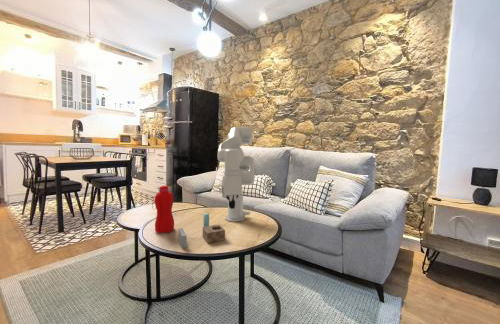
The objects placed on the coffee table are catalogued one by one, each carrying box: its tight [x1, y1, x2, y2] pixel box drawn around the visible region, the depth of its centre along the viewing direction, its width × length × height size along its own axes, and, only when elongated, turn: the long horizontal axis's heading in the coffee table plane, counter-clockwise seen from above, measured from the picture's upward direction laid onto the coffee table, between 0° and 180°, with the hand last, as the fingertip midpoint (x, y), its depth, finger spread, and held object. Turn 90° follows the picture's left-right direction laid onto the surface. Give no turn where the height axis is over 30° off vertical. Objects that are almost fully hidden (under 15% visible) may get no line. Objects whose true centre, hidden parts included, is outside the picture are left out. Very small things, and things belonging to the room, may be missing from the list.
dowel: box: [202, 212, 210, 227], centre depth 127 cm, size 3×3×10 cm
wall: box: [177, 227, 188, 249], centre depth 112 cm, size 2×10×6 cm, turn 26°
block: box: [202, 224, 226, 244], centre depth 119 cm, size 9×9×5 cm
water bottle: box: [151, 185, 175, 234], centre depth 128 cm, size 9×11×25 cm
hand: (231, 208), depth 122 cm, fingers closed
